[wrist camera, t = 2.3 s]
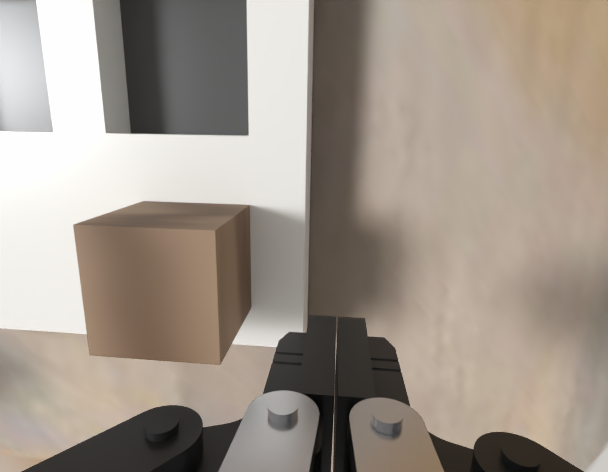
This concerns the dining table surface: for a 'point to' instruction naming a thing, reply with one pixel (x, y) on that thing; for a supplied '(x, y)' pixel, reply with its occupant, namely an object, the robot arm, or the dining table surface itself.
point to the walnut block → (165, 280)
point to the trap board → (153, 139)
